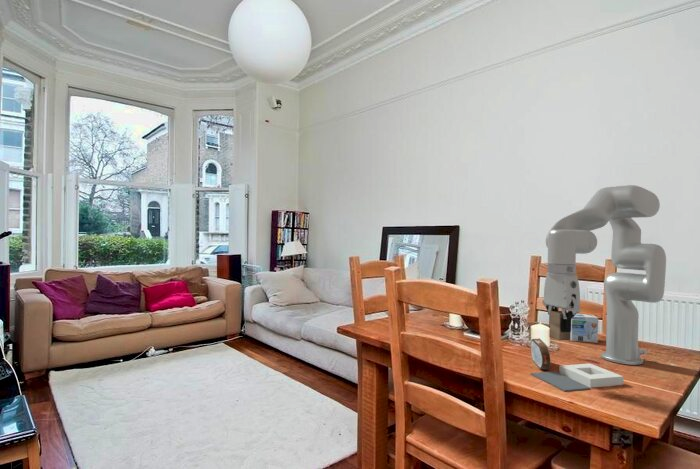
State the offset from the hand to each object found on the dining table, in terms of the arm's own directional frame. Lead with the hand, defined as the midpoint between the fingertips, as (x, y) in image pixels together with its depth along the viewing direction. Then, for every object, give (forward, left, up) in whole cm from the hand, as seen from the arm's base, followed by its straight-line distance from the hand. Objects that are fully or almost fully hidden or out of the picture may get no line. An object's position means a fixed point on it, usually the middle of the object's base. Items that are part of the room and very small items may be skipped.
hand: (559, 329), depth 119 cm
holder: (-12, 0, -16) cm, 20 cm away
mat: (0, 0, -16) cm, 16 cm away
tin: (-5, -14, -16) cm, 22 cm away
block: (0, 0, -3) cm, 3 cm away
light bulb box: (-48, -40, -16) cm, 64 cm away
